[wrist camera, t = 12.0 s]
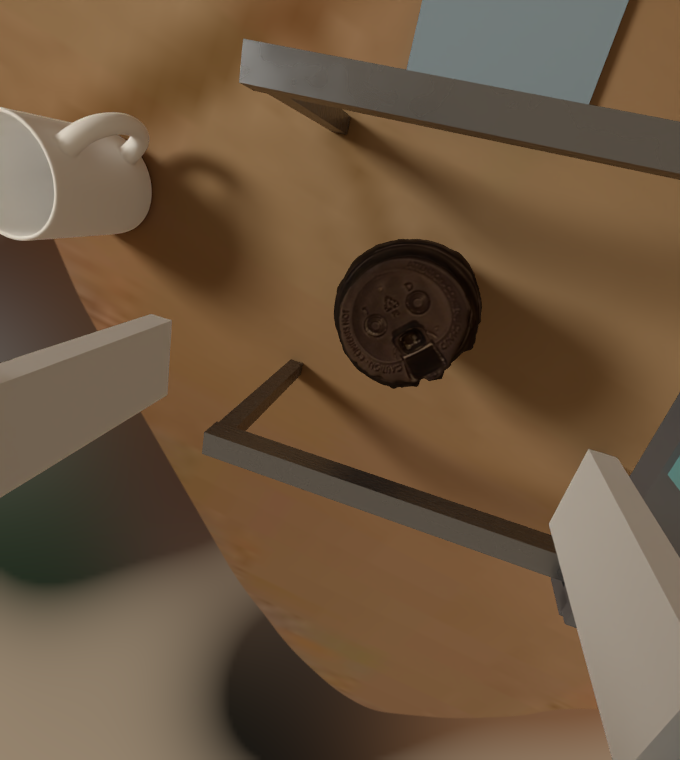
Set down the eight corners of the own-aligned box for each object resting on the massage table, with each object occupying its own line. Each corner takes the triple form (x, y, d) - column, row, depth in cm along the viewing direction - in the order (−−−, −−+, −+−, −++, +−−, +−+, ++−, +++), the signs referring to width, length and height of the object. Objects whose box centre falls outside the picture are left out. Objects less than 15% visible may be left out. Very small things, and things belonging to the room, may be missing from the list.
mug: (149, 82, 35) (35, 36, 26) (204, 180, 37) (116, 171, 27) (58, 165, 40) (-66, 151, 30) (111, 249, 41) (8, 261, 32)
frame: (288, 373, 41) (202, 453, 28) (335, 110, 32) (243, 38, 19) (599, 470, 37) (679, 622, 23) (752, 197, 28) (1022, 187, 14)
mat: (398, 111, 31) (397, 110, 31) (436, -51, 28) (435, -57, 27) (570, 147, 29) (572, 145, 29) (635, -22, 26) (639, -27, 25)
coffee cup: (461, 347, 36) (460, 414, 24) (363, 330, 38) (318, 384, 26) (486, 237, 33) (500, 253, 21) (378, 223, 34) (333, 230, 23)
